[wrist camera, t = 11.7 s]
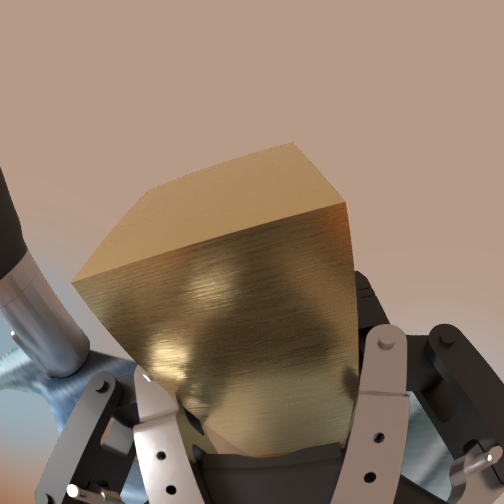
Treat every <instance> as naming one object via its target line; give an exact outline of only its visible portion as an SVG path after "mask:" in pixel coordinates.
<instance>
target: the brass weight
mask: <svg viewBox="0 0 504 504" xmlns="http://www.w3.org/2000/svg"><path fill="white" fill-rule="evenodd" d="M71 283H72V285H73V286H74V287H75V289H76V290H77V291H78V293H79V294H80V296H81V297H82V299H83V300H84V301H85V302H86V304H87V305H88V307H89V308H90V309H91V310H92V312H93V313H94V314H95V315H96V317H97V318H98V319H99V320H100V322H101V323H102V324H103V325H104V327H105V328H106V329H107V330H108V331H109V332H110V334H111V335H112V336H113V337H114V338H115V339H116V341H117V342H118V343H119V344H120V345H121V346H122V347H123V348H124V350H125V351H126V352H127V353H128V354H129V355H130V356H131V357H132V358H133V359H134V360H135V361H136V362H137V363H138V364H139V365H140V366H141V367H142V368H143V369H144V370H145V371H146V372H147V373H148V374H149V375H150V376H151V377H152V378H153V379H154V380H155V381H156V382H157V383H158V384H159V385H160V386H161V387H162V388H163V389H164V390H165V391H166V392H168V393H176V395H177V396H178V397H179V398H180V399H181V401H182V404H183V407H185V408H186V409H187V410H188V411H189V412H191V413H192V414H193V415H194V416H195V417H197V418H198V419H199V420H200V421H202V422H203V423H204V424H205V425H207V426H208V427H209V428H211V429H212V430H213V431H215V432H216V433H217V434H219V435H220V436H221V437H223V438H224V439H226V440H227V441H228V442H230V443H231V444H233V445H234V446H236V447H237V448H238V449H240V450H241V451H243V452H244V453H246V454H248V455H249V456H251V457H255V458H268V457H277V456H284V455H287V454H290V453H292V452H295V451H298V450H301V449H303V448H307V447H313V446H319V445H325V444H330V443H335V442H339V445H343V444H344V441H345V437H346V433H347V430H348V426H349V422H350V418H351V413H352V408H353V404H354V401H356V399H357V394H358V374H359V347H358V315H357V298H356V284H355V272H354V263H353V253H352V245H351V236H350V229H349V221H348V214H347V208H346V202H345V201H344V199H343V198H342V197H341V196H340V194H339V193H338V192H337V191H336V190H335V189H334V187H333V186H332V185H331V184H330V183H329V182H328V180H327V179H326V178H325V177H324V176H323V175H322V174H321V172H320V171H319V170H318V169H317V168H316V167H315V166H314V165H313V164H312V163H311V161H310V160H309V159H308V158H307V157H306V156H305V155H304V154H303V153H302V152H301V151H300V150H299V149H298V147H297V146H296V145H295V144H294V143H293V142H292V143H288V144H284V145H280V146H277V147H273V148H269V149H267V150H263V151H259V152H256V153H252V154H249V155H246V156H242V157H239V158H236V159H233V160H230V161H227V162H224V163H221V164H217V165H215V166H212V167H209V168H206V169H203V170H200V171H197V172H194V173H192V174H189V175H186V176H183V177H181V178H178V179H176V180H173V181H170V182H168V183H165V184H163V185H160V186H158V187H155V188H153V189H150V190H148V191H147V192H146V193H145V194H144V195H143V196H142V197H141V198H140V199H139V201H138V202H137V203H136V204H135V205H134V206H133V207H132V208H131V209H130V210H129V211H128V213H126V215H125V216H124V217H123V218H122V219H121V220H120V222H119V223H118V224H117V225H116V226H115V227H114V229H113V230H112V231H111V232H110V233H109V234H108V236H107V237H106V238H105V239H104V240H103V242H102V243H101V244H100V245H99V247H98V248H97V249H96V251H95V252H94V253H93V254H92V255H91V257H90V258H89V259H88V261H87V262H86V263H85V265H84V266H83V267H82V269H81V270H80V272H79V273H78V274H77V275H76V277H75V278H74V279H73V281H72V282H71Z"/></svg>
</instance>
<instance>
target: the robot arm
mask: <svg viewBox="0 0 504 504" xmlns="http://www.w3.org/2000/svg"><path fill="white" fill-rule="evenodd" d="M354 272H355V284H356V298H357V315H358V347H359V374H358V394H357V399H356V401H354V404H353V408H352V413H351V418H350V422H349V426H348V430H347V433H346V437H345V441H344V445H343V448H340V445H339V442H335V443H330V444H325V445H319V446H313V447H307V448H303V449H301V450H298V451H295V452H292V453H290V454H287V455H284V456H281V457H278V458H275V459H270V460H268V459H261V458H255V457H249V456H244V455H239V454H218V452H217V450H216V448H215V447H214V445H213V444H212V442H211V440H210V439H209V436H208V434H207V431H206V428H205V425H204V423H203V422H202V421H200V420H199V419H198V418H197V417H195V416H194V415H193V414H192V413H191V412H189V411H188V410H187V409H186V408H185V407H183V404H182V401H181V399H180V398H179V397H178V396H177V395H176V393H168V392H166V391H165V390H164V389H163V388H162V387H161V386H160V385H159V384H158V383H157V382H156V381H155V380H154V379H153V378H152V377H151V376H150V375H149V374H148V373H147V372H146V371H145V370H144V369H143V368H142V367H141V366H140V365H138V366H137V367H136V369H135V372H134V373H133V374H130V375H126V376H123V377H119V378H115V377H114V376H113V375H112V374H111V373H109V372H100V373H98V374H96V375H94V376H93V377H92V378H91V379H90V381H89V383H88V384H87V386H86V388H85V390H84V391H83V393H82V395H81V397H80V399H79V400H78V402H77V404H76V406H75V408H74V410H73V412H72V413H71V415H70V417H69V419H68V421H67V423H66V425H65V427H64V429H63V431H62V433H61V435H60V437H59V439H58V441H57V443H56V445H55V447H54V449H53V452H52V454H51V456H50V458H49V460H48V463H47V465H46V467H45V469H44V472H43V474H42V476H41V479H40V481H39V483H38V486H37V488H36V491H35V503H36V504H125V503H124V502H123V501H122V499H121V497H120V494H121V491H122V489H123V486H124V484H125V481H126V479H127V476H128V474H129V471H130V469H131V466H132V464H133V461H134V459H135V456H136V454H137V455H138V460H139V464H140V469H141V473H142V477H143V481H144V485H145V489H146V492H147V496H148V501H147V502H145V503H144V504H492V503H493V502H494V501H495V500H496V499H497V498H498V497H499V496H500V495H501V494H502V493H503V492H504V384H503V382H502V381H501V380H500V378H499V377H498V376H497V374H496V373H495V372H494V371H493V369H492V368H491V367H490V366H489V364H488V363H487V362H486V361H485V359H484V358H483V357H482V356H481V354H480V353H479V352H478V351H477V350H476V349H475V347H474V346H473V345H472V344H471V343H470V342H469V340H468V339H467V338H466V337H465V336H464V335H463V334H462V332H461V331H460V330H459V329H457V328H456V327H455V326H453V325H450V324H440V325H437V326H435V327H434V328H433V329H432V330H431V331H430V333H429V335H427V336H426V335H421V336H420V335H419V336H418V335H405V333H404V332H403V331H402V330H401V329H400V328H398V327H396V326H394V325H391V324H390V323H389V321H388V319H387V317H386V314H385V312H384V311H383V308H382V306H381V305H380V302H379V300H378V298H377V296H375V293H374V291H373V289H372V288H371V285H370V283H369V281H368V279H367V278H366V277H365V276H364V275H362V274H361V273H360V272H359V271H354ZM0 315H1V316H2V318H3V319H4V321H5V322H6V323H7V324H8V326H9V327H10V328H11V337H12V338H13V340H14V341H15V342H16V343H17V344H18V346H19V347H20V348H21V349H22V350H23V351H24V352H25V353H26V354H27V356H28V357H29V358H30V359H31V360H32V361H33V362H34V363H35V364H36V365H37V366H38V367H39V368H40V369H41V370H42V371H43V372H44V373H45V374H46V375H47V376H48V377H52V376H55V377H58V378H63V377H67V376H69V375H71V374H73V373H74V372H76V371H77V370H78V369H79V368H80V367H81V366H82V364H83V363H84V361H85V360H86V358H87V356H88V353H89V349H90V342H89V339H88V338H87V336H86V335H85V334H84V332H83V331H82V329H81V328H80V327H79V326H78V325H77V323H76V322H75V321H74V319H73V318H72V317H71V315H70V314H69V313H68V311H67V310H66V309H65V307H64V306H63V304H62V303H61V301H60V300H59V299H58V297H57V296H56V294H55V293H54V291H53V290H52V288H51V287H50V285H49V284H48V282H47V280H46V279H45V277H44V276H43V274H42V273H41V271H40V269H39V267H38V266H37V264H36V262H35V261H34V259H33V257H32V255H31V254H30V252H29V250H28V248H27V246H26V244H25V242H24V240H23V236H22V230H21V225H20V221H19V218H18V215H17V213H16V210H15V208H14V205H13V202H12V200H11V197H10V194H9V191H8V188H7V185H6V182H5V179H4V176H3V173H2V170H1V168H0ZM406 391H412V392H413V393H414V395H415V396H416V398H417V399H418V401H419V402H420V404H421V405H422V407H423V409H424V410H425V412H426V413H427V415H428V417H429V418H430V420H431V421H432V423H433V425H434V426H435V428H436V430H437V431H438V433H439V435H440V436H441V438H442V440H443V441H444V443H445V445H446V446H447V448H448V450H449V452H450V453H451V455H452V457H453V458H454V460H455V461H454V462H453V464H452V466H451V469H450V474H449V477H450V481H451V485H452V490H451V494H450V497H449V498H448V500H447V502H446V501H444V500H442V499H440V498H439V497H437V496H435V495H433V494H432V493H430V492H428V491H427V490H425V489H423V488H422V487H420V486H419V485H417V484H415V483H414V482H412V481H411V480H409V479H408V478H406V477H404V476H403V475H401V474H400V472H401V467H402V462H403V456H404V450H405V444H406V437H407V429H408V420H409V409H410V398H409V395H407V394H406ZM111 417H112V418H114V421H113V423H112V425H111V427H110V430H109V432H108V434H107V436H106V438H105V440H104V443H103V444H102V445H101V438H102V436H103V434H104V432H105V430H106V427H107V425H108V423H109V421H110V419H111Z"/></svg>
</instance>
